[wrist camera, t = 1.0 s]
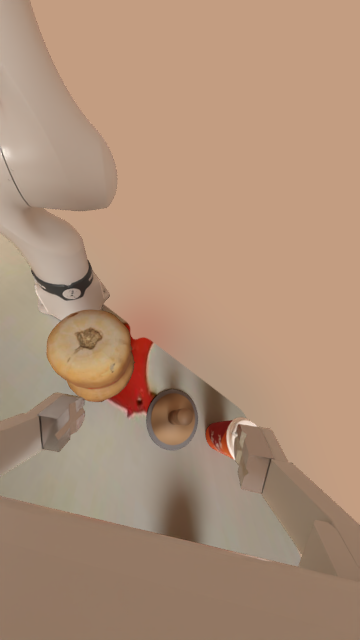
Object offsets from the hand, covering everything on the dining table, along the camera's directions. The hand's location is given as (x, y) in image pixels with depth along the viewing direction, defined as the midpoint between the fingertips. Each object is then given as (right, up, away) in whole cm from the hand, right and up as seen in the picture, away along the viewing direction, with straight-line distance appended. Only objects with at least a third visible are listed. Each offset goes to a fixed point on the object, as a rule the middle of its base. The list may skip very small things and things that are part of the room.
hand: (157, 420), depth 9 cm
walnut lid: (-1, -19, +33) cm, 38 cm away
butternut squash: (-18, -9, +35) cm, 40 cm away
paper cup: (+10, -24, +34) cm, 43 cm away
